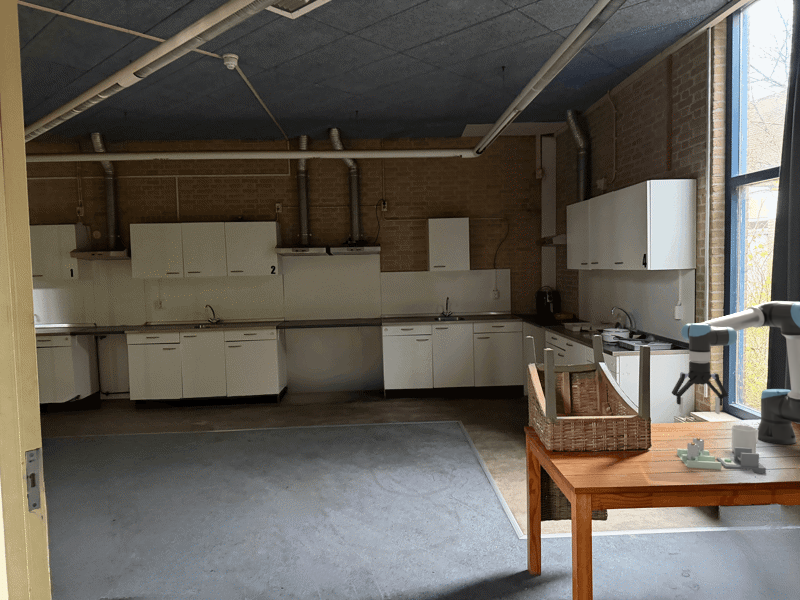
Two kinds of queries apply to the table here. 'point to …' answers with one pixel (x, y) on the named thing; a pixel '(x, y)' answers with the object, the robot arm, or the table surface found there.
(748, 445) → the mug
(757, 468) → the grey mounting bracket
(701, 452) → the cell
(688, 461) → the tray
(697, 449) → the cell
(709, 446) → the table surface
